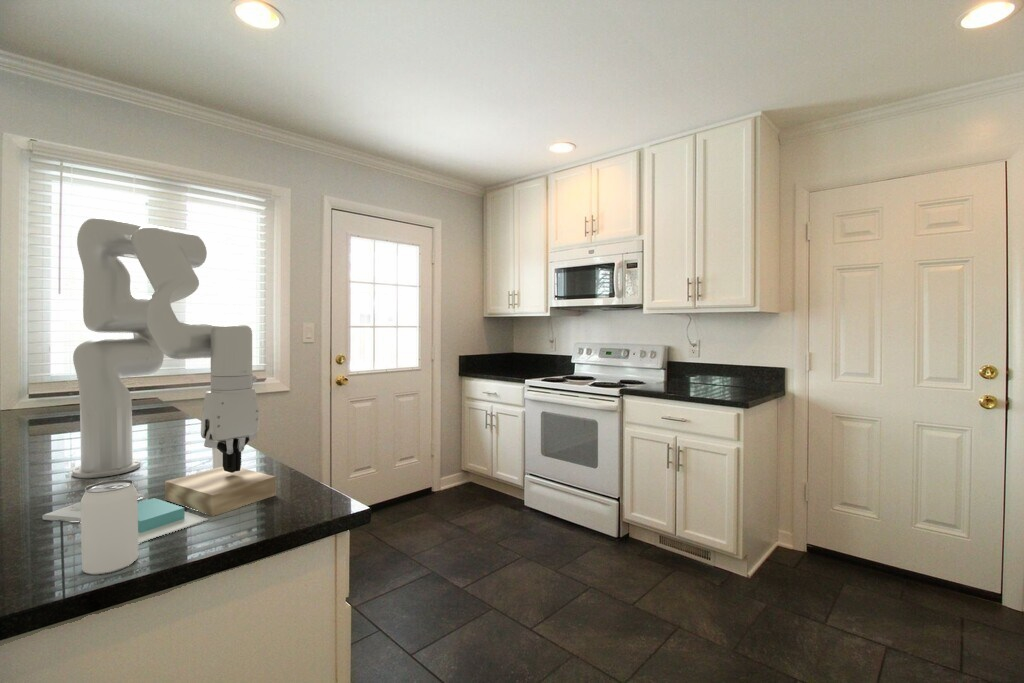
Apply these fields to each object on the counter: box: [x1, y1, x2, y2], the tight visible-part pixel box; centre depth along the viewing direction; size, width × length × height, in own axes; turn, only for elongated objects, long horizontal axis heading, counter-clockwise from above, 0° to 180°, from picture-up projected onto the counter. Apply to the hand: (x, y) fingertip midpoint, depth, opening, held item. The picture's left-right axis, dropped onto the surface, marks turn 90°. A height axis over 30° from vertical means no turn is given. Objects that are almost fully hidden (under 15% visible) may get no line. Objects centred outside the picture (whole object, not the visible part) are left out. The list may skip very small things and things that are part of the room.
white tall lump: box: [211, 448, 242, 469], centre depth 116 cm, size 6×12×6 cm
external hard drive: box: [42, 492, 144, 522], centre depth 94 cm, size 2×8×12 cm
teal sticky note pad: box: [138, 497, 185, 533], centre depth 88 cm, size 10×7×2 cm
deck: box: [164, 467, 276, 517], centre depth 100 cm, size 16×13×4 cm
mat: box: [138, 510, 209, 544], centre depth 88 cm, size 18×11×1 cm, turn 62°
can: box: [80, 478, 139, 576], centre depth 72 cm, size 6×6×12 cm
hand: (232, 470), depth 102 cm, fingers closed
